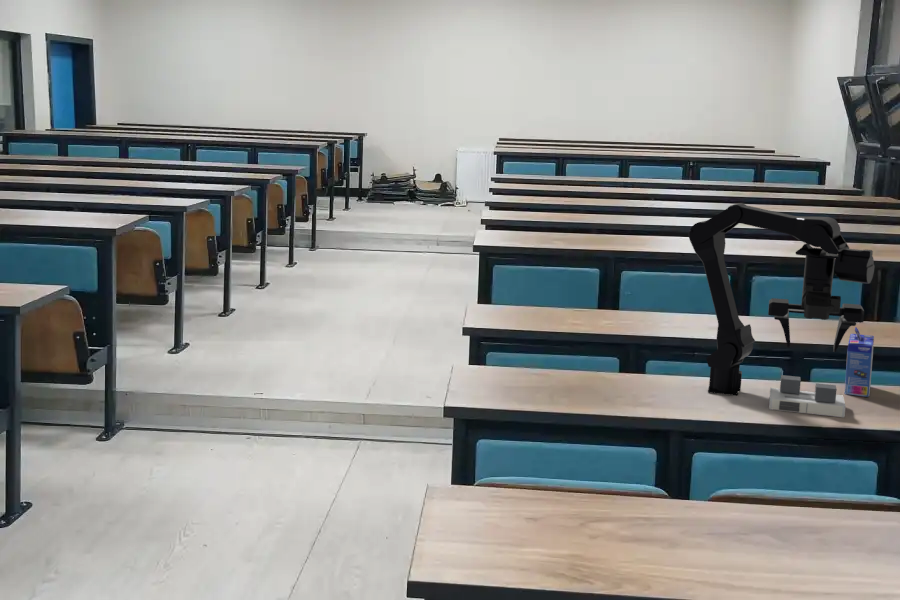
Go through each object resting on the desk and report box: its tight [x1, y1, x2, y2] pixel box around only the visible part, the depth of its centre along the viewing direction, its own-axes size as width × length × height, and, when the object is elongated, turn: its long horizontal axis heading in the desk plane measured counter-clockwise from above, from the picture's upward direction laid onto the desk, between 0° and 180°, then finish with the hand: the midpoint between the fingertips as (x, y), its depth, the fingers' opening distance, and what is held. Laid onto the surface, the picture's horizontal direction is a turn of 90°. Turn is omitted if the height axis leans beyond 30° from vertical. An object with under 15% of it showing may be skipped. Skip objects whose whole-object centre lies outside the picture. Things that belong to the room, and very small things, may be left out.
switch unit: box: [768, 387, 846, 418], centre depth 204 cm, size 15×8×3 cm, turn 71°
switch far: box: [779, 374, 802, 394], centre depth 207 cm, size 4×3×3 cm
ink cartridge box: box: [844, 326, 875, 398], centre depth 217 cm, size 10×6×14 cm, turn 155°
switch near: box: [814, 383, 838, 403], centre depth 201 cm, size 4×3×3 cm
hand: (811, 349), depth 202 cm, fingers open, 9 cm apart
